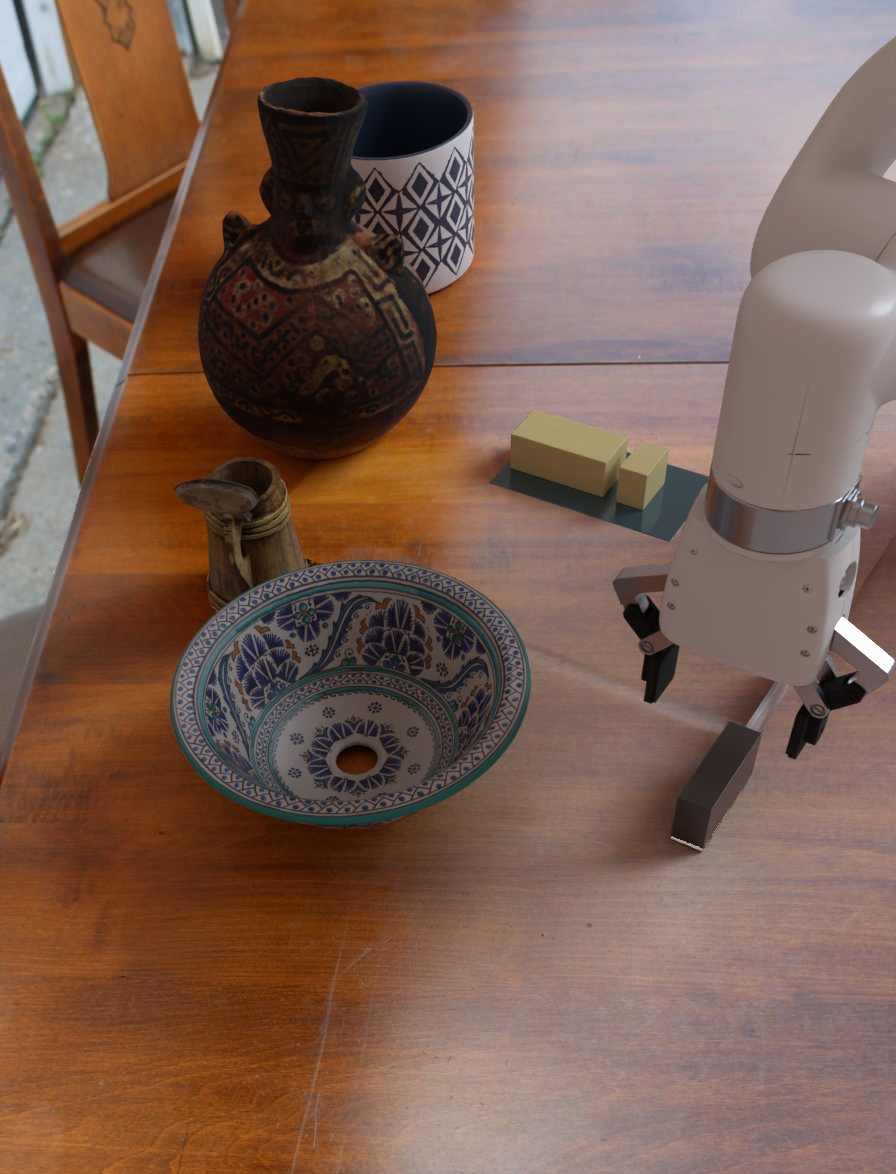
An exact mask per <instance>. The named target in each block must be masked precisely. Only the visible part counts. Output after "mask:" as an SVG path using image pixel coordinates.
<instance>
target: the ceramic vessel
mask: <svg viewBox="0 0 896 1174" xmlns="http://www.w3.org/2000/svg"><path fill="white" fill-rule="evenodd" d="M356 89H357V88H355V87H353V86H350V85H347V84H345V83H344V82H342V81H339V80H337V79H335V78H327V77H321V76H308V77H307V76H304V77H303V76H301V77H296V78H292V79H287V80H284V81H277V82H273V83H271V84H268V85H266V86H264V87H263V89H262V90H260V91H259V93H258V95H257V99H256V100H257V101H256V103H257V109H258V117H259V120H260V126H261V130H262V133H263V136H264V140H265V142H266V147H267V150H268V154H269V158H270V164H271V166H270V167H269V168H268V169H267V171H266V172H265V173H264V175H263V177H262V179H261V182H260V184H259V187H258V191H259V196H260V199H261V202H262V204H263V205H264V207H265V209H266V210H267V212H268V213H269V215H270V216H269V217H268V218H267V219H266V220H264V221H261V222H260V223H258V224H256V223H252V222H251V221H250V220H249V219H248V218H247V217H246V216H245V215H244V214H243V213H241V212H239V211H238V210H230V211H228V212H227V214H225V215H224V216H223V218H222V222H221V223H222V224H221V225H222V228H221V229H222V230H221V232H222V240H223V247H224V249H223V252H222V254H221V256H220V257H219V259H218V260H217V262H216V263H215V264H214V265H213V267H212V270H211V272H210V274H209V276H208V277H207V280H206V282H205V283H204V284H205V285H204V288H203V290H202V294H201V298H200V304H199V310H198V322H197V342H198V351H199V352H198V353H199V358H200V363H201V368H202V371H203V374H204V377H205V380H206V382H207V384H208V386H209V388H210V390H211V392H212V395H213V397H214V398H215V400H216V401H217V403H218V404H219V406H220V407H221V409H222V410H223V411H224V413H225V414H226V415H227V416H228V417H229V418H230V419H231V420H232V421H233V422H234V423H235V424H237V425H238V426H239V427H240V428H241V429H243V430H244V431H245V432H247V433H248V434H249V435H250V436H252V437H254V438H255V439H256V440H258V441H259V442H261V444H263V445H264V446H267V447H269V448H271V449H273V450H276V451H278V452H280V453H282V454H284V455H287V456H290V457H294V458H297V459H301V460H310V461H325V460H331V459H339V458H342V457H347V456H350V455H353V454H356V453H358V452H361V451H364V450H365V449H367V448H369V447H371V446H372V445H373V444H375V443H376V442H378V441H379V440H381V439H382V438H383V437H384V436H386V435H387V434H389V433H390V431H392V430H393V429H394V428H395V427H396V426H397V425H399V423H400V422H401V421H402V420H403V419H404V418H405V417H406V416H407V415H408V414H409V413H410V411H411V410H412V409H413V407H414V406H415V405H416V404H417V402H418V401H419V399H420V397H421V395H422V393H423V392H424V390H425V388H426V386H427V383H428V381H429V379H430V376H431V374H432V371H433V368H434V364H435V358H436V351H437V346H438V345H437V344H438V329H437V324H436V318H435V314H434V313H435V312H434V309H433V306H432V303H431V299H430V296H429V294H427V291H426V289H425V286H424V284H423V282H422V280H421V279H420V277H419V275H418V274H417V272H416V271H415V269H414V268H413V267H412V266H411V265H410V264H409V262H408V261H407V260H406V259H405V258H404V255H405V252H404V245H403V242H402V240H401V239H400V238H399V237H398V236H396V235H394V234H391V233H383V234H379V235H376V234H374V233H373V232H371V231H369V230H368V229H366V228H365V227H363V226H361V225H359V224H358V223H356V222H354V221H352V220H351V219H352V218H353V217H354V215H355V214H356V213H357V212H358V211H359V210H360V209H361V207H362V206H363V204H364V202H365V198H366V186H365V183H364V181H363V179H362V177H361V176H360V175H359V173H358V172H357V171H356V170H354V169H353V167H352V165H351V159H352V154H353V149H354V145H355V142H356V140H357V137H358V134H359V131H360V129H361V126H362V123H363V120H364V119H365V116H366V112H367V108H368V100H367V98H366V96H365V95H363V94H361V93H360V91H358V90H356Z"/></svg>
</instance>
